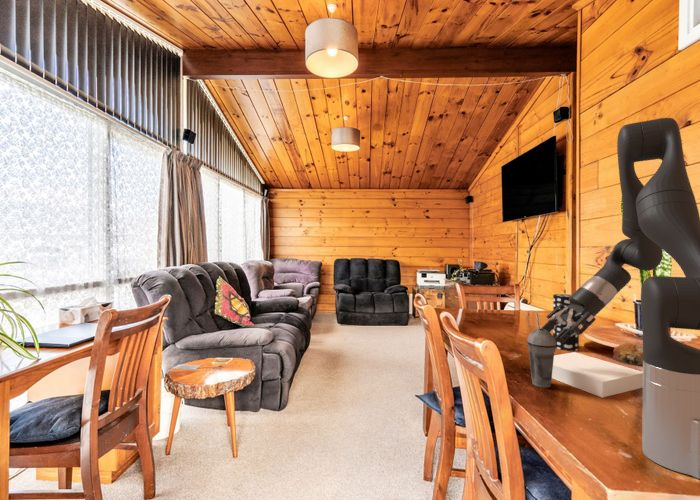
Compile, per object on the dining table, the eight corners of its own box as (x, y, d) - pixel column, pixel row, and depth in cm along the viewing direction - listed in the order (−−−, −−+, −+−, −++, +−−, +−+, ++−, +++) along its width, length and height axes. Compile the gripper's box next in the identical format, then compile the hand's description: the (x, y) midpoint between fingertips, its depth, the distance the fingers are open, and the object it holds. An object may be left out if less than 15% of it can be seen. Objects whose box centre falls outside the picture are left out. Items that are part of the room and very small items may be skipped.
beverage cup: (560, 390, 93) (561, 316, 93) (531, 388, 94) (531, 315, 94) (550, 380, 100) (551, 311, 100) (523, 378, 102) (523, 310, 101)
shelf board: (645, 386, 96) (645, 372, 95) (602, 397, 89) (602, 382, 89) (574, 364, 114) (574, 352, 114) (534, 371, 107) (534, 358, 107)
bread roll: (654, 375, 114) (660, 352, 115) (636, 366, 110) (643, 342, 111) (621, 366, 123) (627, 344, 124) (604, 356, 120) (610, 335, 121)
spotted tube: (548, 346, 135) (548, 294, 134) (562, 343, 138) (562, 293, 138) (569, 352, 127) (569, 297, 127) (583, 349, 131) (583, 296, 130)
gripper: (568, 283, 104) (528, 321, 104) (599, 289, 89) (553, 333, 90) (586, 301, 103) (546, 339, 104) (621, 310, 89) (574, 354, 90)
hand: (550, 336), depth 97 cm, fingers open, 8 cm apart
